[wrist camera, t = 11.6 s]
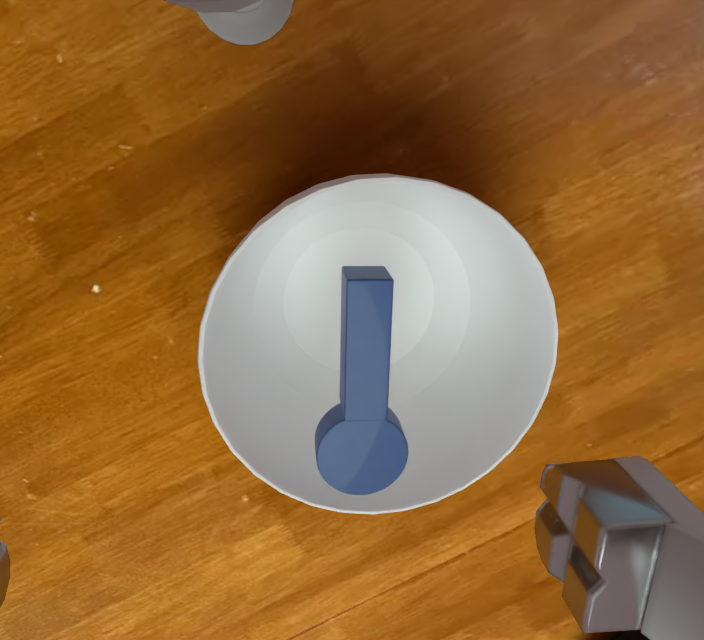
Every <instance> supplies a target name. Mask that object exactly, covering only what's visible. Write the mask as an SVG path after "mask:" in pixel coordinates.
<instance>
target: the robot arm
mask: <svg viewBox="0 0 704 640" xmlns="http://www.w3.org/2000/svg"><path fill="white" fill-rule="evenodd" d="M540 488H541V489H542V491H543V492H544V494H545V495H546V497H547V499H546V500H545V502H544V503H543V504H542V505H541V506H540V507H539V508H538V509H537V511H536V520H535V535H536V543H537V548H538V551H539V554H540V557H541V560H542V562H543V564H544V565H545V567H546V569H547V571H548V573H550V574H551V575H553V576H554V577H556V578H557V579H559V580H560V581H562V582H563V583H564V586H563V592H562V597H563V599H564V601H565V602H566V604H567V606H568V607H569V609H570V611H571V613H572V614H573V616H574V618H575V620H576V621H577V623H578V625H579V626H580V628H581V630H582V632H583V633H594V632H610V631H627V630H641V633H642V634H643V635H645V636H646V637H647V638H648V639H650V640H704V514H703V513H702V512H701V511H700V510H699V509H698V508H697V507H696V506H695V505H694V504H693V503H692V502H691V501H690V500H689V499H688V498H687V497H686V496H685V495H684V494H683V493H682V492H681V491H679V490H678V489H677V488H676V487H675V486H674V485H673V484H672V483H671V482H670V481H669V480H668V479H667V478H666V477H665V476H664V475H663V474H662V473H661V472H660V471H659V470H658V469H657V468H656V467H654V466H653V465H652V464H651V463H650V462H649V461H648V460H647V459H645V458H642V457H640V456H633V457H622V458H611V459H607V460H595V461H581V462H567V463H553V464H546V466H545V468H544V470H543V472H542V476H541V483H540ZM0 521H1V520H0ZM9 579H10V559H9V554H8V550H7V546H6V545H5V544H3V543H2V542H1V541H0V607H1V605H2V603H3V601H4V600H5V596H6V592H7V588H8V583H9Z"/></svg>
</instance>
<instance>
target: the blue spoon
mask: <svg viewBox="0 0 704 640" xmlns="http://www.w3.org/2000/svg"><path fill="white" fill-rule="evenodd" d="M393 287H394V280H393V278H392V277H391V275H390V274H389V272H388V271H387V269H386V268H385V266H343V267H342V275H341V338H340V402H341V403H339V404H337V405H336V406H334V407H332V408H331V409H330V410H329V411H328V412H327V413H326V414H325V415H324V416H323V417H322V419H321V420H320V422H319V424H318V426H317V428H316V432H315V452H316V463H317V467H318V470H319V472H320V474H321V476H322V477H323V479H324V480H325V481H326V482H327V483H328V484H329V485H330V486H332V487H333V488H334V489H336V490H338V491H340V492H343V493H346V494H351V495H368V494H372V493H376V492H379V491H381V490H383V489H385V488H386V487H388V486H390V485H391V484H392V483H393V482H394V481H395V480H396V479H398V477H399V476H400V475H401V473H402V472H403V470H404V468H405V466H406V463H407V459H408V444H407V440H406V437H405V435H404V432H403V429H402V427H401V424H400V422H399V420H398V418H397V416H396V415H395V413H394V412H393V411H392V410H391V409H390V408H389V407H388V396H389V374H390V352H391V330H392V308H393Z"/></svg>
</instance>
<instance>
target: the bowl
mask: <svg viewBox="0 0 704 640" xmlns="http://www.w3.org/2000/svg"><path fill="white" fill-rule="evenodd" d="M343 266H385V268H386V269H387V271H388V272H389V274H390V275H391V277H392V278H393V280H394V287H393V308H392V330H391V352H390V374H389V396H388V407H389V408H390V409H391V410H392V411H393V412H394V413H395V415H396V416H397V418H398V420H399V422H400V424H401V427H402V429H403V432H404V435H405V437H406V440H407V444H408V459H407V463H406V466H405V468H404V470H403V472H402V473H401V475H400V476H399V477H398V479H396V480H395V481H394V482H393V483H392V484H391V485H390V486H388V487H386V488H385V489H383V490H381V491H379V492H376V493H372V494H368V495H351V494H346V493H343V492H340V491H338V490H336V489H334V488H333V487H332V486H330V485H329V484H328V483H327V482H326V481H325V480H324V479H323V477H322V476H321V474H320V472H319V470H318V467H317V463H316V452H315V432H316V428H317V426H318V424H319V422H320V420H321V419H322V417H323V416H324V415H325V414H326V413H327V412H328V411H329V410H330V409H331V408H332V407H334V406H336V405H337V404H339V403H341V402H340V338H341V275H342V267H343ZM557 341H558V326H557V318H556V311H555V303H554V297H553V294H552V292H551V289H550V286H549V283H548V280H547V278H546V275H545V272H544V269H543V267H542V265H541V263H540V262H539V260H538V258H537V257H536V255H535V254H534V252H533V251H532V249H531V247H530V246H529V244H528V243H527V241H526V239H525V238H524V237H523V236H522V235H521V234H520V233H519V232H518V231H517V230H516V229H515V228H514V227H513V226H512V225H511V224H510V223H509V222H508V221H507V220H506V219H505V218H504V217H503V216H502V215H501V214H500V213H499V212H498V211H496V210H494V209H493V208H491V207H490V206H488V205H487V204H485V203H483V202H482V201H480V200H479V199H477V198H476V197H474V196H473V195H471V194H469V193H467V192H464V191H461V190H459V189H456V188H453V187H451V186H448V185H445V184H442V183H440V182H437V181H434V180H428V179H422V178H415V177H409V176H402V175H395V174H388V173H381V174H364V175H350V176H346V177H343V178H339V179H335V180H331V181H328V182H324V183H320V184H317V185H315V186H313V187H311V188H309V189H307V190H305V191H303V192H301V193H299V194H297V195H295V196H293V197H291V198H289V199H287V200H285V201H284V202H282V203H281V204H280V205H279V206H277V207H276V208H275V209H273V210H272V211H271V212H270V213H268V214H267V215H266V216H264V217H263V218H262V219H261V220H259V221H258V222H257V223H256V225H255V226H254V227H253V228H252V229H251V230H250V232H249V233H248V234H247V235H246V236H245V237H244V239H243V240H242V241H241V242H240V243H239V244H238V246H237V247H236V248H235V249H234V251H233V252H232V253H231V255H230V256H229V257H228V259H227V261H226V263H225V264H224V266H223V268H222V270H221V272H220V274H219V275H218V277H217V279H216V281H215V283H214V285H213V286H212V288H211V290H210V293H209V296H208V300H207V303H206V306H205V310H204V313H203V317H202V320H201V323H200V332H199V345H198V359H197V360H198V367H199V374H200V381H201V388H202V393H203V396H204V399H205V401H206V404H207V407H208V409H209V412H210V415H211V417H212V420H213V423H214V425H215V426H216V428H217V429H218V431H219V432H220V434H221V436H222V437H223V439H224V440H225V442H226V443H227V445H228V446H229V448H230V450H231V451H232V452H233V453H234V454H235V456H236V457H237V458H238V459H239V460H240V461H241V462H242V463H243V464H244V465H245V466H246V467H247V468H248V469H249V470H250V471H251V472H252V473H253V474H254V475H256V476H257V477H258V478H260V479H261V480H263V481H264V482H266V483H267V484H269V485H270V486H272V487H273V488H275V489H276V490H278V491H279V492H280V493H283V494H285V495H287V496H290V497H292V498H294V499H297V500H299V501H301V502H303V503H306V504H308V505H311V506H315V507H319V508H324V509H328V510H332V511H336V512H341V513H358V514H380V513H389V512H399V511H406V510H409V509H413V508H416V507H420V506H424V505H427V504H431V503H434V502H437V501H439V500H441V499H443V498H446V497H448V496H450V495H452V494H454V493H456V492H459V491H461V490H463V489H465V488H466V487H468V486H469V485H471V484H472V483H474V482H475V481H477V480H478V479H480V478H481V477H482V476H484V475H485V474H487V473H488V472H490V471H491V470H492V469H493V468H494V467H495V466H496V465H497V464H499V463H500V462H501V461H502V460H503V459H504V458H505V457H506V456H507V455H508V454H509V453H510V452H511V451H512V450H513V449H514V448H515V447H516V445H517V444H518V443H519V441H520V440H521V439H522V437H523V436H524V435H525V433H526V432H527V431H528V429H529V428H530V426H531V425H532V424H533V422H534V420H535V418H536V416H537V414H538V412H539V410H540V408H541V406H542V404H543V402H544V400H545V398H546V396H547V393H548V390H549V386H550V383H551V379H552V375H553V372H554V368H555V365H556V355H557Z"/></svg>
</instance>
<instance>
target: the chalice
mask: <svg viewBox="0 0 704 640" xmlns="http://www.w3.org/2000/svg"><path fill="white" fill-rule="evenodd" d="M164 1H167V2H170V3H174V4H177V5H180V6H183V7H186V8H189V9H192V10H195V11H197V13H198V15H199V16H200V18H201V19H202V21H203V22H204V23H205V25H206V26H207V27H208V29H209V30H211V31H212V32H213V33H215V34H216V35H218V36H219V37H220V38H222V39H223V40H226V41H229V42H232V43H235V44H238V45H254V44H257V43H260V42H263V41H265V40H268V39H270V38H271V37H272V36H273V35H275V34H276V33H277V32H278V31H279V30H281V29H282V27H283V25H284V24H285V22H286V20H287V19H288V17H289V16H290V13H291V9H292V5H293V1H294V0H164Z"/></svg>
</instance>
